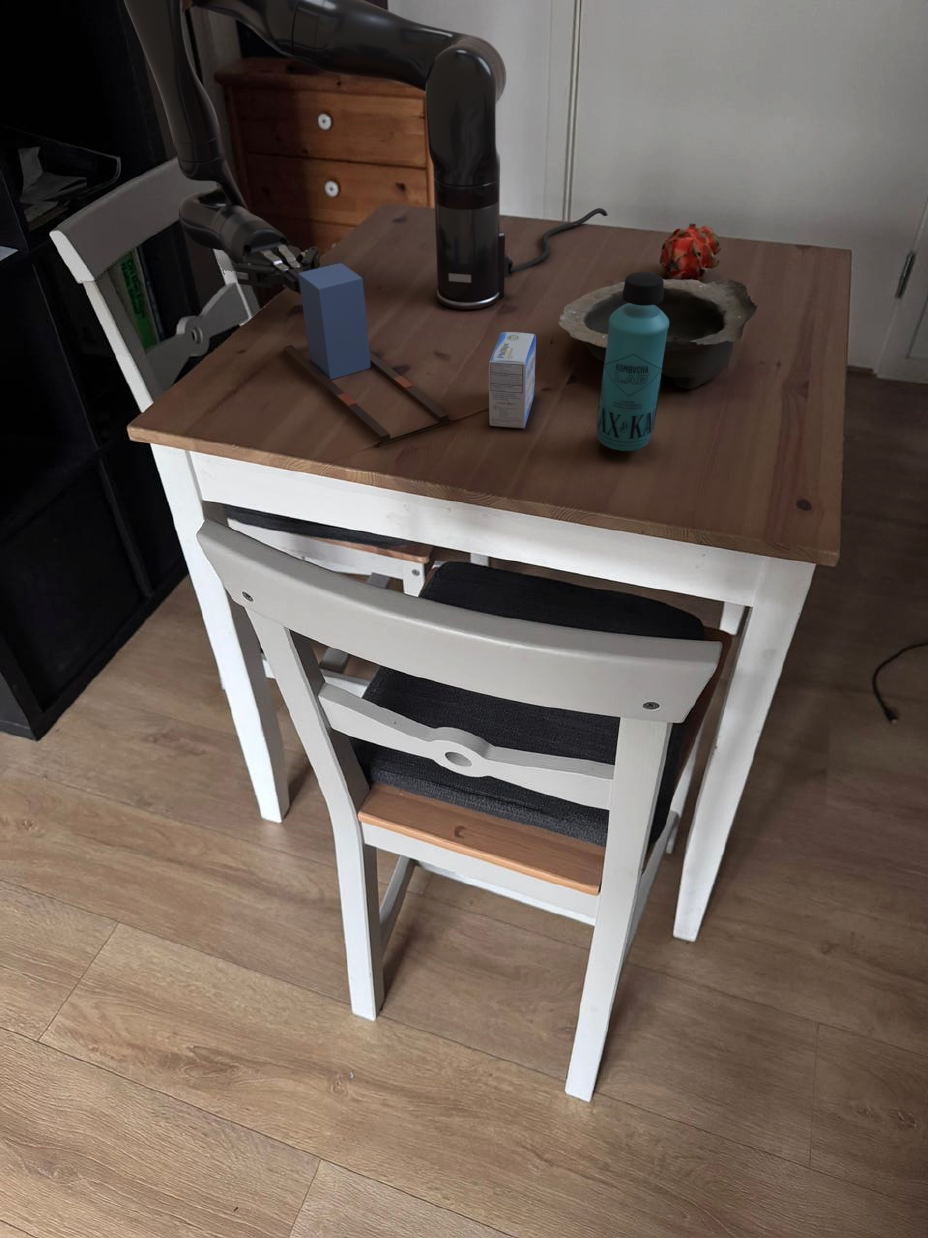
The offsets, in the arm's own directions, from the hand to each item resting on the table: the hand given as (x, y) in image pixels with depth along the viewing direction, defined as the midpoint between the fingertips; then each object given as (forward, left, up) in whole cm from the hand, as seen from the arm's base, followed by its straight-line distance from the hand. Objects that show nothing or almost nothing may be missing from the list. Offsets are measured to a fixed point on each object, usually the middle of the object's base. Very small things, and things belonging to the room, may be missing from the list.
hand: (305, 286), depth 119 cm
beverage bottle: (-19, +45, -9) cm, 49 cm away
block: (0, +9, -8) cm, 12 cm away
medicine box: (-13, +31, -9) cm, 34 cm away
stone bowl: (-36, +30, -9) cm, 47 cm away
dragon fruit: (-59, +12, -9) cm, 60 cm away
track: (0, +15, -8) cm, 17 cm away
